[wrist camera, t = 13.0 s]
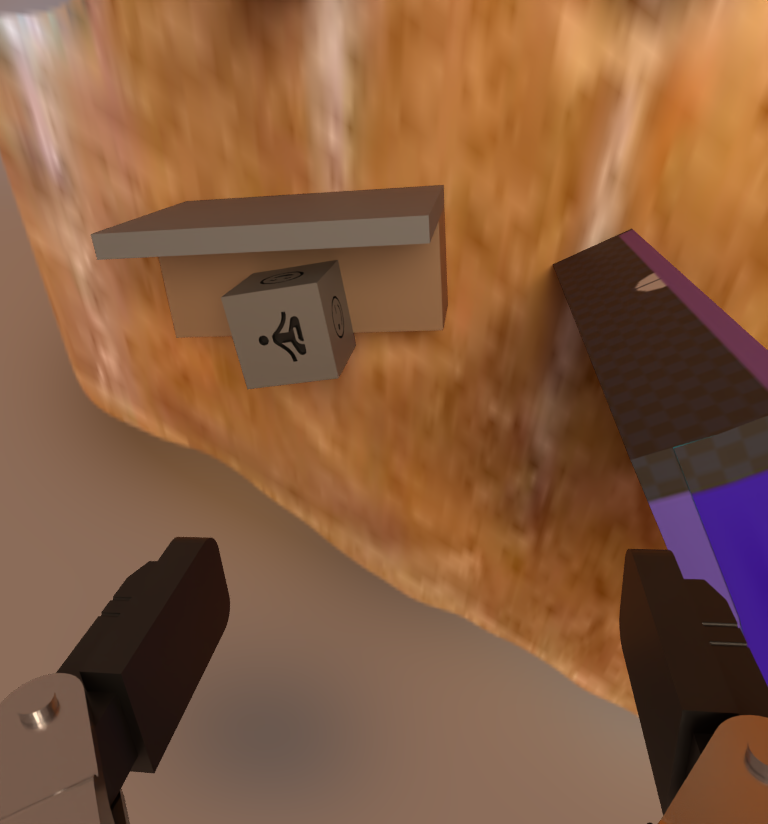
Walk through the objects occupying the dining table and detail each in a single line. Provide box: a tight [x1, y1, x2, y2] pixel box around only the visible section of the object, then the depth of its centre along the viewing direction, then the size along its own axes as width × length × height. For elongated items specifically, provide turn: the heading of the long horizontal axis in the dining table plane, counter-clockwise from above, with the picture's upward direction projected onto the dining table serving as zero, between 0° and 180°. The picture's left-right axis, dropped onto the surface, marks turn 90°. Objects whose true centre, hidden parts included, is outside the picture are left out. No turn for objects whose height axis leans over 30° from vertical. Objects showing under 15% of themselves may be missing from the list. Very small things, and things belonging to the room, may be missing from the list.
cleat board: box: [91, 185, 448, 338], centre depth 36 cm, size 16×7×11 cm, turn 95°
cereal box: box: [553, 229, 768, 686], centre depth 31 cm, size 17×5×24 cm, turn 28°
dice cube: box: [221, 260, 356, 389], centre depth 35 cm, size 5×5×5 cm
